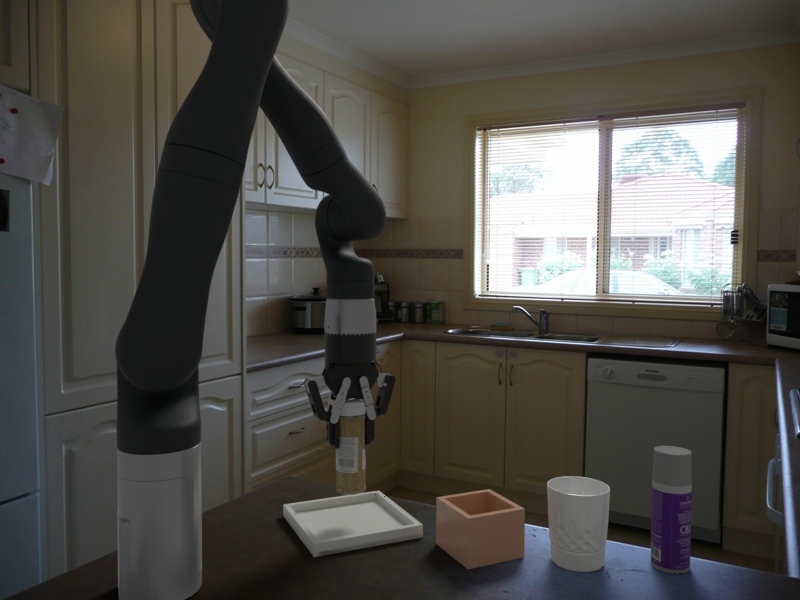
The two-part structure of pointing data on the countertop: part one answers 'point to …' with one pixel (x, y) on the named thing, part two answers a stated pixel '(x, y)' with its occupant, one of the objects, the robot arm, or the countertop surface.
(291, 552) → the countertop surface
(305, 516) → the tray
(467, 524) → the pot
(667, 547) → the container
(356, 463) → the sprinkles bottle
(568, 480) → the white cup
